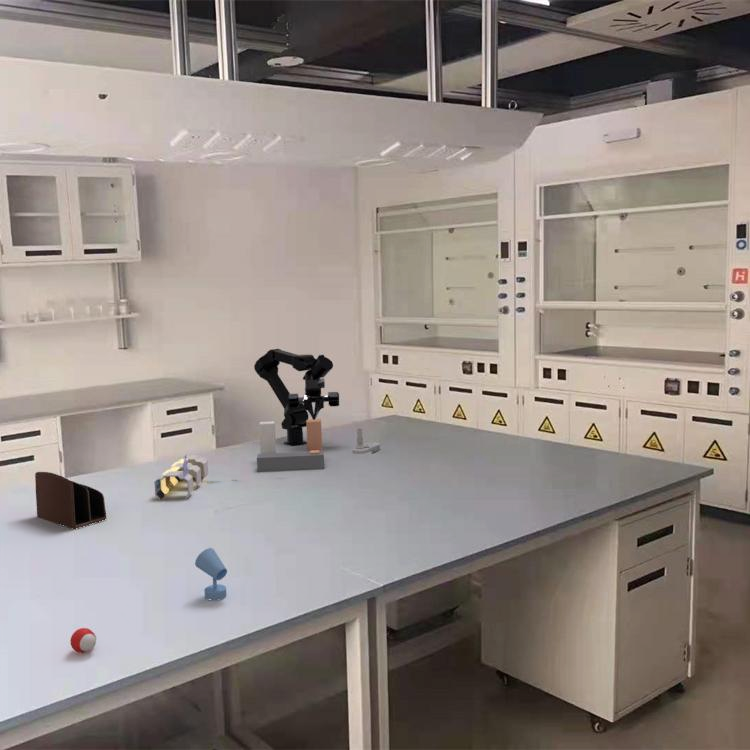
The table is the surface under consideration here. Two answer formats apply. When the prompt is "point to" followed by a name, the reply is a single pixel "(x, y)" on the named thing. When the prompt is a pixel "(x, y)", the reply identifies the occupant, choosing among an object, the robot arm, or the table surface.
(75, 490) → the letter holder
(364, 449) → the electronic device
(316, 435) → the key
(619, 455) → the table surface
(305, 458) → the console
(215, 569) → the spotlight
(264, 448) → the key
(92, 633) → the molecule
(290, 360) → the robot arm
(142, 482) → the table surface
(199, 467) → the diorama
